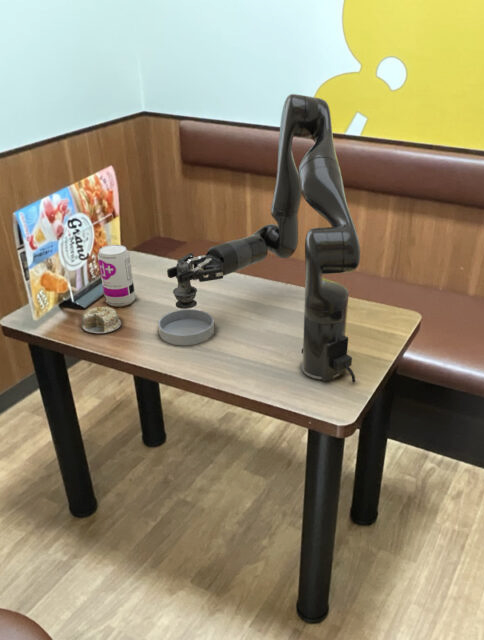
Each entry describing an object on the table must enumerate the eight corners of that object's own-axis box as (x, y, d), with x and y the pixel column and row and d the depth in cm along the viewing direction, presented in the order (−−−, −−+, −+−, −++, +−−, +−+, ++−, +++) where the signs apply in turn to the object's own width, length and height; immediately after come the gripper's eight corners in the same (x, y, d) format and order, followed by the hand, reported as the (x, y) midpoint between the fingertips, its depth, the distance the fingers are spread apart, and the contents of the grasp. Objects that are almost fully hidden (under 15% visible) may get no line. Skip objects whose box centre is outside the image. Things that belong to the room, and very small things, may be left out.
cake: (91, 316, 161) (88, 297, 159) (127, 320, 160) (125, 301, 158) (75, 332, 153) (72, 312, 150) (112, 335, 152) (110, 316, 149)
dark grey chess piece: (172, 300, 151) (167, 255, 144) (195, 297, 153) (191, 252, 146) (176, 311, 147) (171, 264, 140) (200, 307, 148) (196, 261, 141)
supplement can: (119, 310, 163) (111, 258, 155) (99, 302, 167) (90, 250, 159) (141, 299, 169) (135, 248, 160) (122, 291, 173) (114, 241, 164)
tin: (224, 334, 153) (224, 324, 151) (176, 351, 146) (175, 341, 144) (196, 313, 162) (195, 304, 160) (149, 328, 155) (148, 319, 153)
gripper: (212, 235, 155) (154, 253, 146) (247, 250, 146) (189, 270, 137) (213, 263, 159) (158, 282, 150) (248, 279, 151) (191, 300, 141)
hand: (173, 276), depth 143 cm, fingers closed on dark grey chess piece, 3 cm apart
